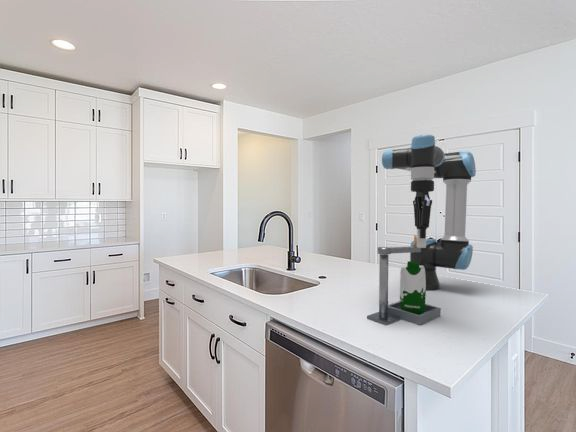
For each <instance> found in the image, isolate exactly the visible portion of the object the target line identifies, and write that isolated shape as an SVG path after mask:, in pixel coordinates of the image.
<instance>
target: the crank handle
mask: <svg viewBox="0 0 576 432" xmlns="http://www.w3.org/2000/svg"><path fill="white" fill-rule="evenodd" d="M413 236H414V237H413V241H414V246H411V245H410V246H390V247H389V246H388V247H387V246H378V247H377V254H378V255H380V254H387V255H392V254H409V253H413V252H421V248H418V247H417V234H416V235H415V234H414V235H413Z"/></svg>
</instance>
